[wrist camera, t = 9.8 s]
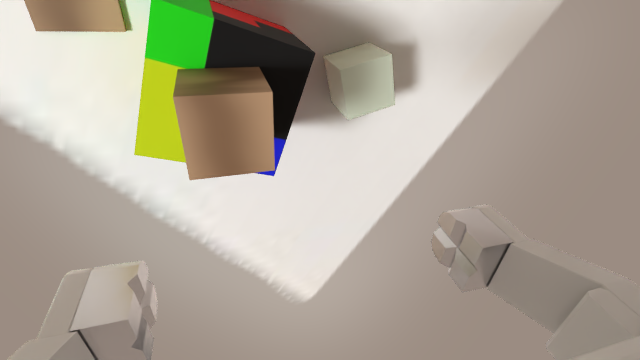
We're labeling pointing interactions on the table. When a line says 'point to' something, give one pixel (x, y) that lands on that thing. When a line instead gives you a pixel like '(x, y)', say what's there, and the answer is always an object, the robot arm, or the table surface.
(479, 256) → the robot arm
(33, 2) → the swatch tile
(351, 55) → the sage block
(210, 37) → the puzzle toy
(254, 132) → the walnut block
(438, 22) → the table surface
